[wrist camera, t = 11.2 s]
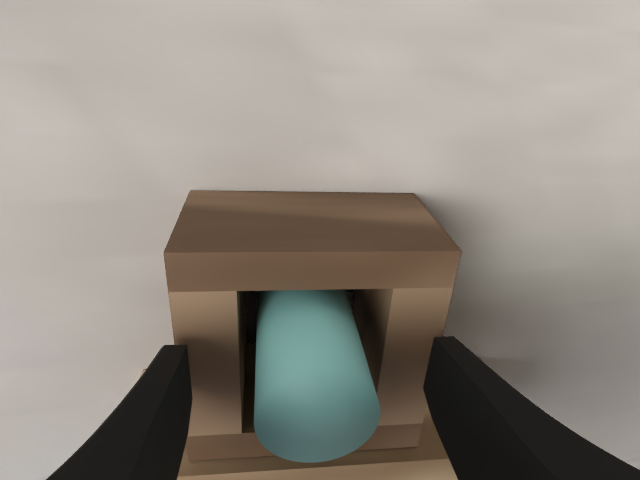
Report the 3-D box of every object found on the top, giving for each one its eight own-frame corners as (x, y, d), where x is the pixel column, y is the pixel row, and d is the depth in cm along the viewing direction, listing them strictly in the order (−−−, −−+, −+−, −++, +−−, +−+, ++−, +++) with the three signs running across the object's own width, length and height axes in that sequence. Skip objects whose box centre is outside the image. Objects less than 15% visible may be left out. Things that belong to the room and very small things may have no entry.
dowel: (336, 308, 18) (373, 458, 12) (258, 309, 18) (254, 466, 12) (342, 238, 17) (387, 369, 10) (257, 238, 16) (252, 374, 10)
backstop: (470, 389, 21) (525, 487, 17) (148, 404, 19) (114, 519, 15) (479, 357, 20) (539, 452, 16) (142, 370, 18) (104, 481, 14)
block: (386, 359, 20) (417, 446, 16) (204, 366, 19) (188, 461, 15) (413, 193, 16) (461, 251, 12) (190, 190, 15) (163, 252, 11)
